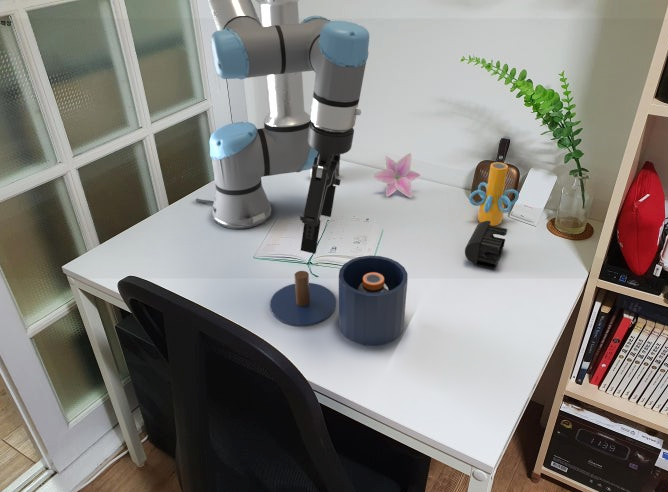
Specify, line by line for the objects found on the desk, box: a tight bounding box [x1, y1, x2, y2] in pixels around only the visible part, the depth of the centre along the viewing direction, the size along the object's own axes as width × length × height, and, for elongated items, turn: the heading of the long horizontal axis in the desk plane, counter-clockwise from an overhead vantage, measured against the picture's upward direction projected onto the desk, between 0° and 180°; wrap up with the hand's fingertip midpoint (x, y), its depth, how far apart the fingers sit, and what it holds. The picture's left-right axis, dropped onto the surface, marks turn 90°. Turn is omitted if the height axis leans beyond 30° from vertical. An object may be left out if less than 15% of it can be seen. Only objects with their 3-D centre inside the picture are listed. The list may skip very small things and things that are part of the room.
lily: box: [372, 152, 422, 199], centre depth 155 cm, size 12×12×10 cm
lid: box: [269, 270, 337, 327], centre depth 114 cm, size 14×14×8 cm
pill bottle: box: [357, 272, 389, 293], centre depth 107 cm, size 6×6×11 cm
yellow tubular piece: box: [468, 161, 520, 227], centre depth 138 cm, size 12×10×15 cm
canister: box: [338, 255, 409, 347], centre depth 107 cm, size 13×13×12 cm
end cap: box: [464, 221, 508, 271], centre depth 128 cm, size 10×7×7 cm
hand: (316, 232), depth 106 cm, fingers open, 13 cm apart
